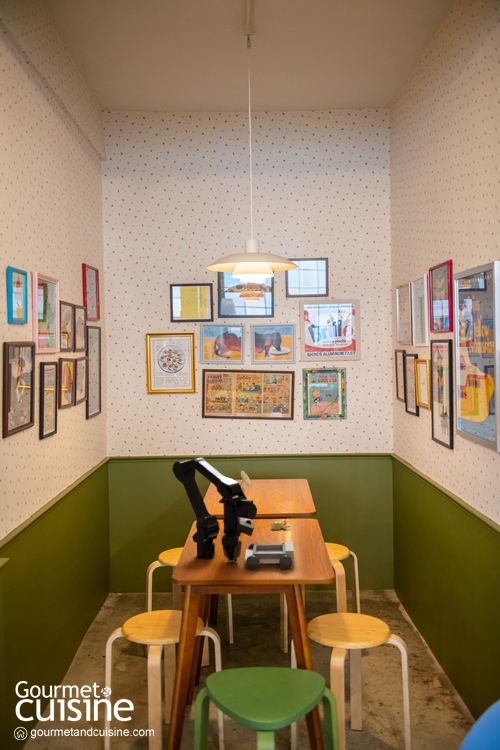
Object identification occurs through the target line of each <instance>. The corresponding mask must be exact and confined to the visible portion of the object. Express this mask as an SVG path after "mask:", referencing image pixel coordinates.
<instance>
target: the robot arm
mask: <svg viewBox="0 0 500 750" xmlns="http://www.w3.org/2000/svg"><path fill="white" fill-rule="evenodd" d="M171 469H172V473H173V475H174V476H175V478H176V479H177V481H179V482H180V483H181V484H182V485H183V487H184V490H185V493H186V495H187V498H188V500H189V502H190V505H191V508H192V510H193V512H194V514H195V517H196V522H195V523H196V524H195V528H196V531H195V533H194V534H193V535H192V536H191V538H192V541H193V543H196V557H195V558H196V559H214V556H215V555H216V543H214V540H216V539H217V538H218V535H219V533H220V529H221V528H220V522H219V521H218V517H217V515H216V514H214V515H211V514H210V512H209V511H208V508H207V505H206V503H205V501H204V499H203V496H202V494H201V491H200V488H199V487H198V483H197V481H196V471H197V472H198V473H199V474H201V475H202V476H203V477H204V478H205V479H206V480H208V481H209V482H210V483H211V484H212V485H214V487H215V488H216V491H217V493H218V494H219V495H220V496H221V497H222V498H221V499H219V500H218V503H219V504H223V507H222V509H223V522H222V523H223V531H222V532H223V536H222V537H221V546H222V545H223V546H222V548H223V547H224V549H225V551H226V553H227V555H228V557H229V560H230V561H233V556H234V550H235V547H236V546H237V545H238V544H239V541H240V537H241V534H245V535H247V536H249V537H252V535H253V533H254V530H255V525H254V524H253V523H251V522H252V520H254V519H255V518H256V517H257V513H258V508H257V506H256V504H255V503H254V500H252V499H249V500H247V499H248V498H247V496H246V494H245V491H244V492H243V491H242V489H241V487H240V485H241V483H240V482H239V481H236V479H235V480H234V479H233V478H231V477H230V478H229V477H226V476H224V475H223V474H222V473H221V472H219V471H218V470H217V469H216V468H215V467H213V466H212V465H211V464H210V463H209V462H207V461H206V460H205V458H204V457H195V458H192V459H191V460H190V459H183V460H179V461H175V462H174V463H173V465H172V468H171ZM236 496H239V497H236ZM234 497H236V498H234ZM239 517H240V518H246V519H250V520H247V521H246V522H242V521H240V518H239Z"/></svg>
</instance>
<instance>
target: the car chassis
mask: <svg viewBox="0 0 500 750" xmlns="http://www.w3.org/2000/svg"><path fill="white" fill-rule="evenodd" d="M294 548H295V547H294V541H285V542H282V543H279V544H271V543H270V544H268V543H265V544H261V543H260V544H259V543H257V542H252V543H250V544H249V545H248V548H246V549H245V556H244V564H245V565H246V567H247V569H248V570H250V571H256V570H257V569H258V568H259V566H260V564H278V565H279V567H280V568H281V569H282V570H285V571H287V570H289V569H291V568H292V566H293V564H295V551H294Z"/></svg>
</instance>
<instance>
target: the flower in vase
mask: <svg viewBox="0 0 500 750" xmlns="http://www.w3.org/2000/svg"><path fill="white" fill-rule="evenodd" d="M240 476H241V479H242V481H241V482H240V487H241V489H242V491H243V492H244V493H245V491H246V488H245V487H244V486H242V485H243V483H244V484H245V485H246V486H247V487H251V484H252V483H251V479H250V478H249V476H248V473H246V472H245V471H244V470H241V471H240ZM236 497H239V496H236ZM236 497H233V498H236ZM239 518H240V517H239ZM247 520H251V519H246V518H240V521H242V522H246V521H247ZM251 523H252V521H251ZM252 524H253V523H252Z"/></svg>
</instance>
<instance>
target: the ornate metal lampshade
mask: <svg viewBox="0 0 500 750" xmlns="http://www.w3.org/2000/svg"><path fill="white" fill-rule="evenodd" d="M242 544H243V541H241V540H239V544H238V545H237V546H236V547H235V550H234V556H233V561H230V560H229V557H228V555H227V553H226V551H225V549H224V547H223V545H222V544H221V546H222V551H223V556H224V557H225V558H226V559H227V563H228V564H233V565H234V564H237V562H238V558H240V556H241V553H242V546H243V545H242Z"/></svg>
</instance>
